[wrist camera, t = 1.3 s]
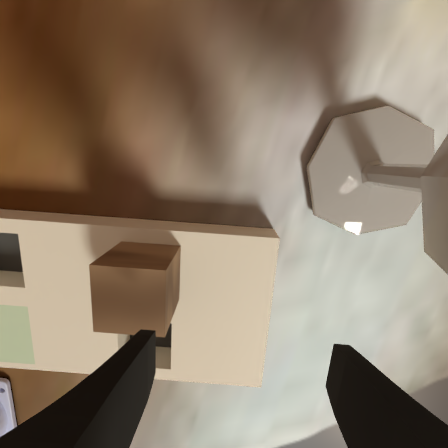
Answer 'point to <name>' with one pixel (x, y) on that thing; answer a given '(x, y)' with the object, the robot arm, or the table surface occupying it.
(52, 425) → the robot arm
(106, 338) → the beige flat block
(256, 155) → the table surface
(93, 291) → the block
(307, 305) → the table surface
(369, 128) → the wineglass
